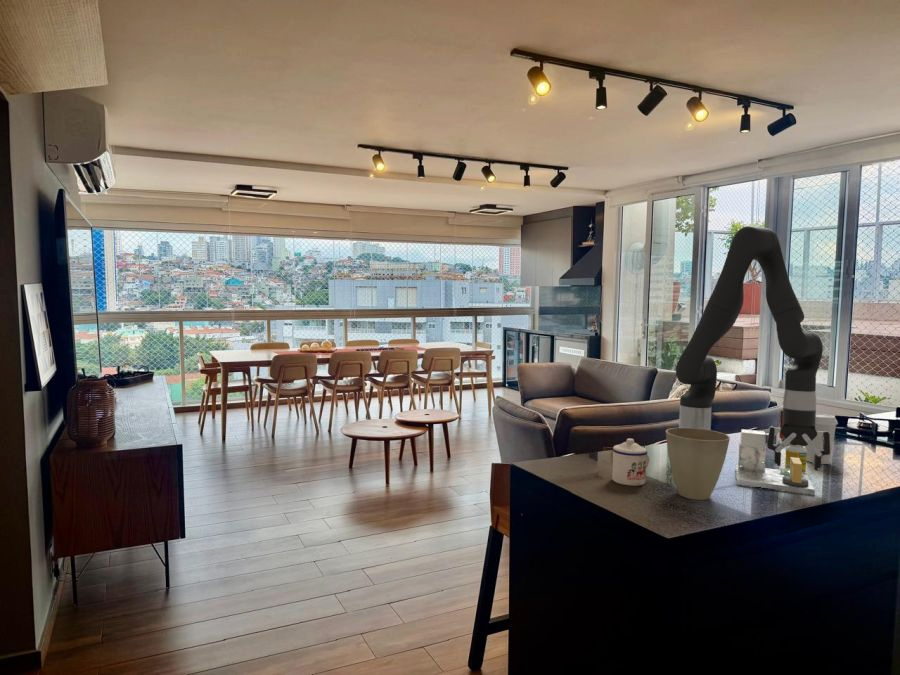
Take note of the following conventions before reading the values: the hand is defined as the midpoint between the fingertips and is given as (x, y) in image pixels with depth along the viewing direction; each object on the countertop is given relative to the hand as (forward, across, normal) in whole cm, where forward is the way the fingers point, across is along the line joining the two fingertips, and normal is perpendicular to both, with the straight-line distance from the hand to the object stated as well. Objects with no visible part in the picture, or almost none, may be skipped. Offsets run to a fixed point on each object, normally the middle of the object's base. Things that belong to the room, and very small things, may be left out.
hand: (797, 467), depth 157 cm
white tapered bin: (+6, +10, +38) cm, 40 cm away
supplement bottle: (+6, +2, +20) cm, 21 cm away
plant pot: (+6, -24, -20) cm, 32 cm away
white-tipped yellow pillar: (+4, 0, 0) cm, 4 cm away
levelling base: (+6, -5, +5) cm, 9 cm away
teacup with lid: (+6, -40, -14) cm, 43 cm away
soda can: (+5, +5, +68) cm, 69 cm away
